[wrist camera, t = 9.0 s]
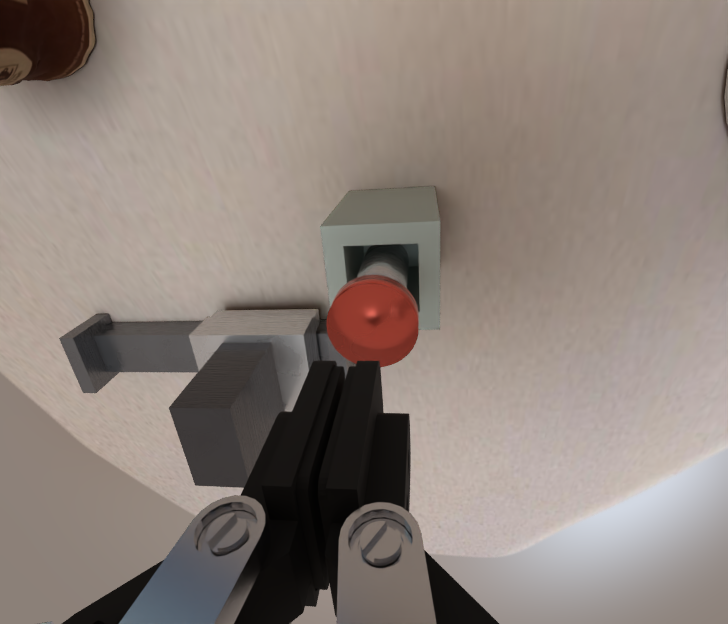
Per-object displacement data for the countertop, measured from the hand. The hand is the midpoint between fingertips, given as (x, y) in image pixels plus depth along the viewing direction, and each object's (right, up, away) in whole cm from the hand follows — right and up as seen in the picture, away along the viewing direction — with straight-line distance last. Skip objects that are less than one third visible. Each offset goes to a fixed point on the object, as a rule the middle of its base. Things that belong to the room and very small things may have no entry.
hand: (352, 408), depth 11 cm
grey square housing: (+2, +7, +15) cm, 17 cm away
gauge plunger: (+1, +5, +10) cm, 11 cm away
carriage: (-6, +1, +19) cm, 20 cm away
